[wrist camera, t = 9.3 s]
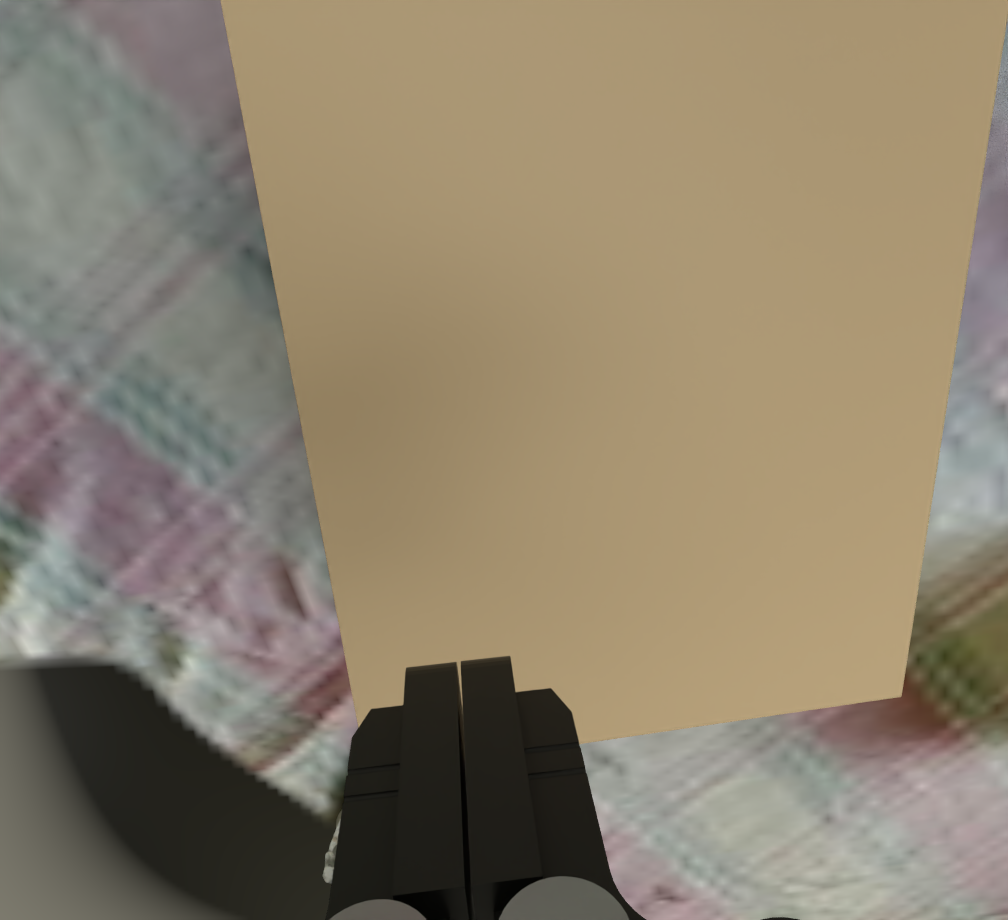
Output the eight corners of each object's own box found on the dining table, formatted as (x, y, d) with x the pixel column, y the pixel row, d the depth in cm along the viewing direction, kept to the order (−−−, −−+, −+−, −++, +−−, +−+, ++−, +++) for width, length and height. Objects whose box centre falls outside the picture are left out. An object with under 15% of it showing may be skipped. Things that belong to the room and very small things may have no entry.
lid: (225, -10, 17) (217, -18, 16) (996, -59, 19) (1020, -68, 18) (368, 756, 26) (367, 774, 25) (887, 681, 27) (901, 696, 26)
